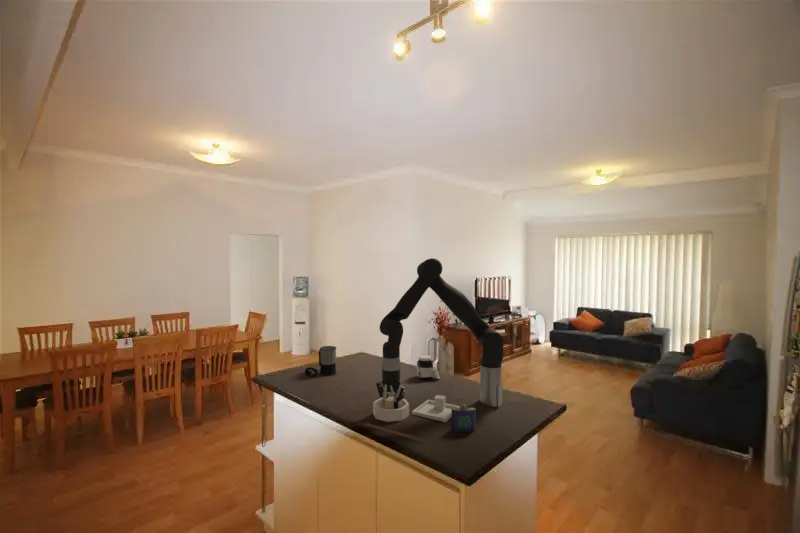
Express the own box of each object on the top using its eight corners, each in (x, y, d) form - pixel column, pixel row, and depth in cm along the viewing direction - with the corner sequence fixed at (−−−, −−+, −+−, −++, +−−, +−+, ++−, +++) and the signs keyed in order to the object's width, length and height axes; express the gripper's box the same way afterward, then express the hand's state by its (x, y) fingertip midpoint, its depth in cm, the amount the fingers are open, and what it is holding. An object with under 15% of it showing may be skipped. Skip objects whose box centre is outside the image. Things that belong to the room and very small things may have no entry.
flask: (474, 430, 141) (474, 402, 141) (476, 434, 138) (477, 405, 138) (450, 431, 141) (450, 403, 140) (452, 435, 138) (452, 406, 137)
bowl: (413, 413, 156) (414, 401, 156) (396, 426, 144) (396, 412, 144) (385, 407, 163) (386, 394, 163) (367, 418, 151) (367, 405, 151)
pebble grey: (445, 407, 160) (445, 396, 160) (443, 411, 157) (443, 399, 157) (436, 406, 162) (436, 394, 162) (434, 409, 158) (434, 398, 158)
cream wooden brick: (397, 410, 154) (397, 398, 154) (392, 414, 151) (392, 401, 151) (389, 408, 156) (389, 396, 156) (384, 411, 153) (384, 399, 153)
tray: (459, 411, 159) (459, 406, 159) (445, 424, 146) (445, 419, 146) (428, 404, 167) (428, 399, 167) (412, 416, 154) (412, 411, 154)
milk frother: (339, 372, 213) (339, 347, 212) (319, 380, 199) (319, 352, 199) (321, 368, 220) (321, 343, 220) (301, 375, 207) (301, 349, 207)
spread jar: (414, 376, 207) (415, 355, 207) (433, 373, 211) (433, 353, 211) (423, 382, 196) (423, 360, 196) (442, 380, 200) (443, 358, 200)
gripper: (410, 367, 153) (410, 409, 153) (381, 362, 160) (381, 402, 161) (401, 372, 147) (401, 415, 147) (371, 367, 154) (371, 408, 154)
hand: (391, 408), depth 154 cm, fingers closed on cream wooden brick, 3 cm apart
